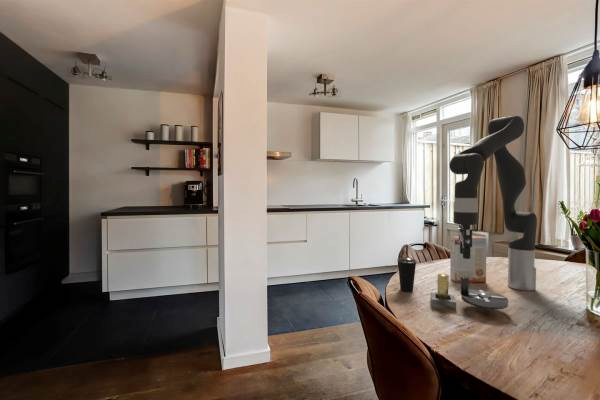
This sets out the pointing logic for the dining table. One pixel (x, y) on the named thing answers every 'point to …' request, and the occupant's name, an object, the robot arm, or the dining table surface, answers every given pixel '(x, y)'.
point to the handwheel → (482, 297)
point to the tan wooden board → (464, 309)
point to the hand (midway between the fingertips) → (464, 256)
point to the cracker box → (468, 260)
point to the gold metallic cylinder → (443, 286)
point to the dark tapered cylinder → (406, 272)
